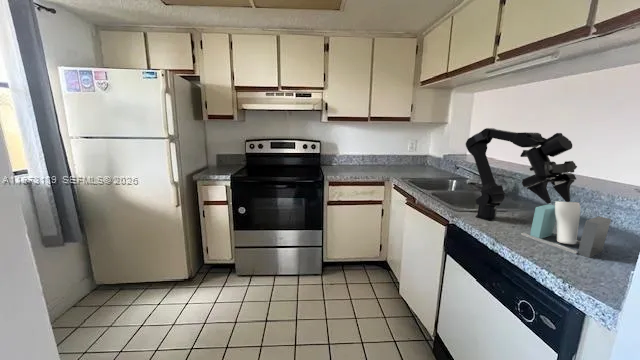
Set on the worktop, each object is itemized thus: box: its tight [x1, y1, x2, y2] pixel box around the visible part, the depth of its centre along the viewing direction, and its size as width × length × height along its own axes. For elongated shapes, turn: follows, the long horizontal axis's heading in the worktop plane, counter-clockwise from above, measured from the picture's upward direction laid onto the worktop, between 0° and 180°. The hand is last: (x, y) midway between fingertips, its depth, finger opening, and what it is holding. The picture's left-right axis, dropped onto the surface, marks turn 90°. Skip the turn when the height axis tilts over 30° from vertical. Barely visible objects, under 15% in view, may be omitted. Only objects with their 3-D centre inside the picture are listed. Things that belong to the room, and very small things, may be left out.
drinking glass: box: [554, 200, 581, 245], centre depth 98 cm, size 7×7×15 cm
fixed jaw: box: [521, 216, 612, 259], centre depth 98 cm, size 20×12×12 cm, turn 27°
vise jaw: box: [529, 203, 556, 239], centre depth 103 cm, size 3×10×12 cm, turn 117°
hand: (559, 202), depth 94 cm, fingers open, 9 cm apart
